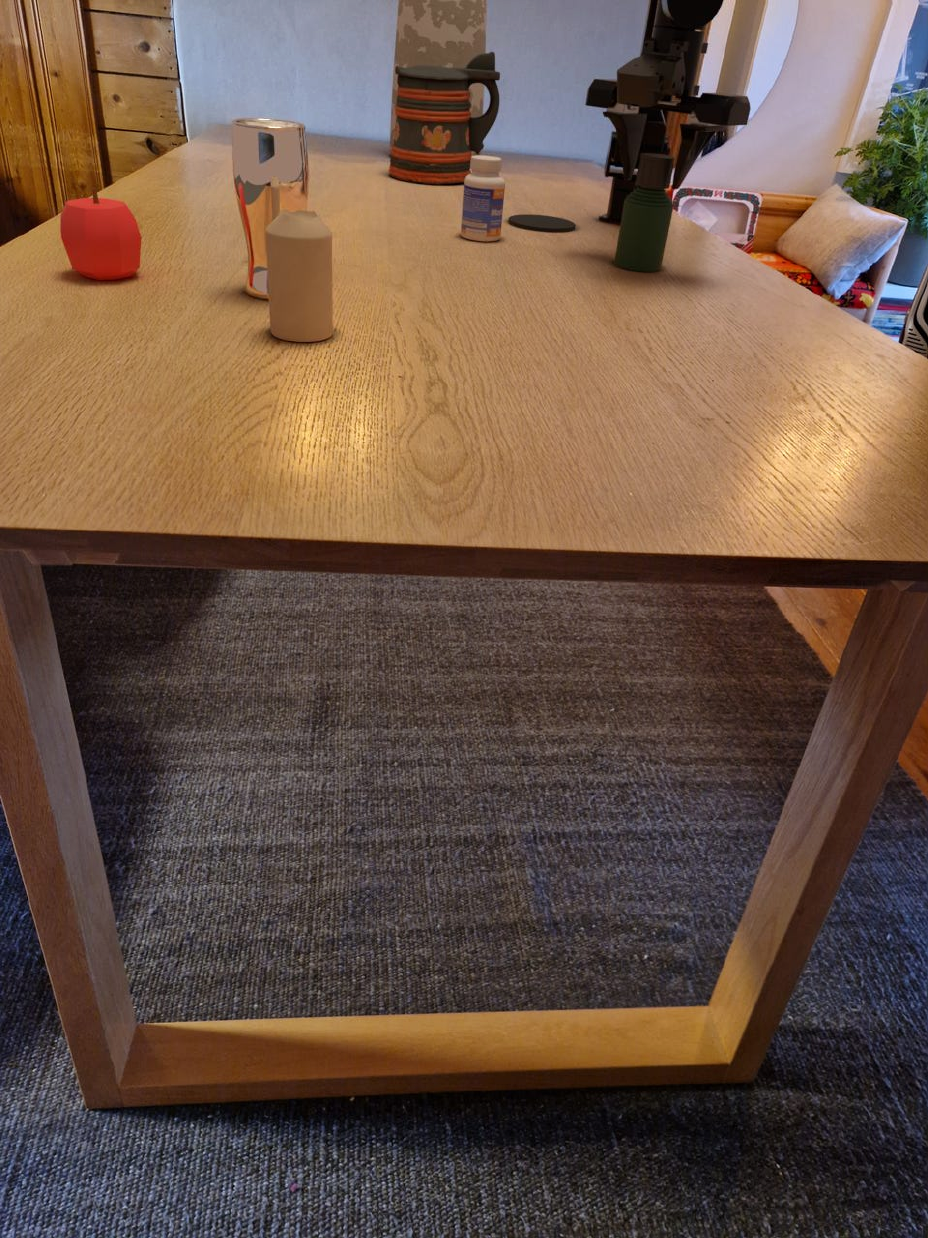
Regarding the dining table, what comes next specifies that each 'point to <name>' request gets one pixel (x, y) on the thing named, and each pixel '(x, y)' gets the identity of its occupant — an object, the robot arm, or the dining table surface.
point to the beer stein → (440, 120)
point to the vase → (440, 41)
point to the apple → (101, 237)
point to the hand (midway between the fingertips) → (651, 184)
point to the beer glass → (267, 184)
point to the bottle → (644, 230)
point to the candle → (299, 276)
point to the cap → (654, 171)
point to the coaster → (542, 223)
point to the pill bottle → (483, 200)
